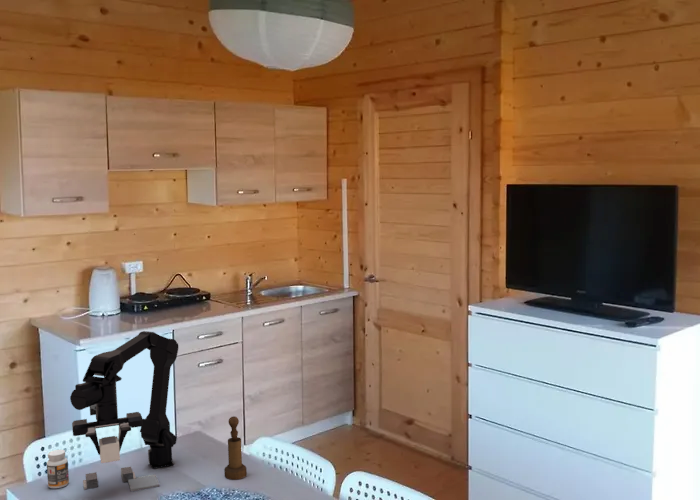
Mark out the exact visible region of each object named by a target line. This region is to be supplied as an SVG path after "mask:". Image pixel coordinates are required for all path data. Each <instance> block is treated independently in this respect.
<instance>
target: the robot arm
mask: <svg viewBox="0 0 700 500" xmlns="http://www.w3.org/2000/svg"><path fill="white" fill-rule="evenodd" d="M146 349H147V350H149V358H150V360H151V362H152V364H153V373H152V374H153V375H152V385H151V391H150V392H151V393H150V402H149V404H150V405H149V410H148V411H149V412H148V414H147V416H146V417H145V418H143V417H142V414H141V413H140V412H139V411H135V412H128V413H126V416H125V417H120V418H119V416H118V414H119V413H118V410H119V409H118V398H117V397H118V395H117V382H120V381H122V379H123V378H122V377H121V376H119V375H118V373H119V372H121V371H122V370H123V367H124V365H125V364H126V363H127V362H128V361H129V360H131V359H133V358H134V357H136V356H137V355H139V354H140V353H142V352H143V351H145V350H146ZM178 353H179V342H177V341H176V339H174V338H167V337H165V336H163V335H160V334H158V333H156V332H154V331H145V330H143V331H140V332H139V333H138V334H137V335H135V336H134V337H133V338H131V339H130V340H128V341H126V342H125V343H123V344H121V345H119V346H118V347H117V348H115V349H113V350H109V351H104V352H101V353H98V354H96V355H94V356H93V357H92V358H91V359H90V363H89V365H88V367H87V369H86V371H85V373H84V376H83V378H82V382H83V383H77V384H75V385H74V386H75V389H74V390H72V392H71V394H70V397H69V398H70V399H69V400H70V403H71V406H73V408H74V409H75V410H77V411H81V410H83V409H87V408H89V415H90V416H95V419H96V420H95V421H90V422H88V420H87V418H86V419H85V418H84V419H76V420H73V421H72V422H71V428H72V436H74V437H78V436H79V437H80V436H85V438H89V439H90V440H91V442H92V443H93V445H94V447H95V449H96V451H97V455H98V456H100V448H99V438H98V434H97V429H100V428H102V429H103V428H109V427H115V426H118V436H117V437H118V441H119V450H120V451H121V449H122V446H123V443H124V440H125V439H126V436H127V434H128V432H130V431H132V428H133V429H134V428H140V429H139V433H140V436H141V437H140V438H141V439H143V443H144V445H145V446H149V449H147V454H148V456H147V457H148V464H149V465H150V466H151V469H159V468H166V467H169V466H174V462H173V451H172V449H173V447H174V445H176V444H177V440H178V438H177V435H176V434H174V433H173V432H171V423H170V420H169V418H168V415H167V404H168V396H169V385H170V375H171V367H172V366H173V365H174V363H175V361H176V360H177V357H178Z"/></svg>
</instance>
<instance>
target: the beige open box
mask: <svg viewBox="0 0 700 500" xmlns="http://www.w3.org/2000/svg"><path fill="white" fill-rule="evenodd" d="M98 443H99V448H100V455H99V458H100V464H107V463H112V462H119V461H121V455H120V454H121V450H119V441H118V436H116V435H113V436H112V435H111V436H105V437H101V438H98Z"/></svg>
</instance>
